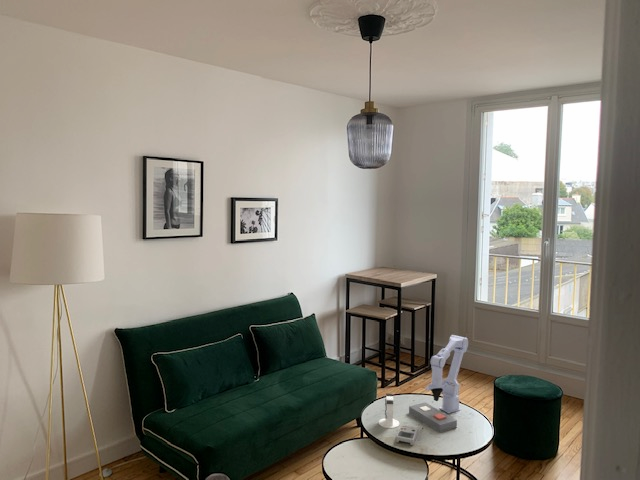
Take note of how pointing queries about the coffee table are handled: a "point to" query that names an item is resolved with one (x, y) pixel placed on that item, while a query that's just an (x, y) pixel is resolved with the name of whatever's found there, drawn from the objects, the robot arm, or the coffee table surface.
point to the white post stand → (389, 414)
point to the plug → (425, 408)
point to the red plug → (439, 416)
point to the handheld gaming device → (407, 434)
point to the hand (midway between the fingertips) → (436, 400)
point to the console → (430, 420)
